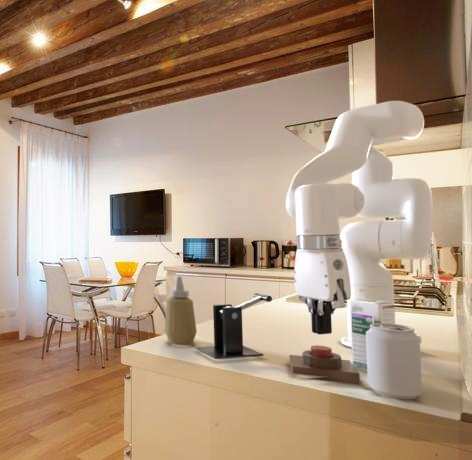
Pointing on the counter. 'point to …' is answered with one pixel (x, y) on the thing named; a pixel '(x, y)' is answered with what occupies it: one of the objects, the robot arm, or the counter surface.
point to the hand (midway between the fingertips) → (321, 332)
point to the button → (321, 351)
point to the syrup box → (367, 324)
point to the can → (393, 360)
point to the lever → (251, 302)
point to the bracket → (228, 334)
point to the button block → (325, 368)
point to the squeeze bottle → (180, 316)
